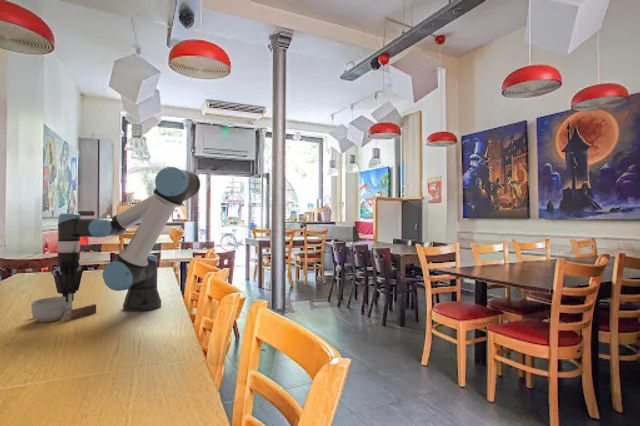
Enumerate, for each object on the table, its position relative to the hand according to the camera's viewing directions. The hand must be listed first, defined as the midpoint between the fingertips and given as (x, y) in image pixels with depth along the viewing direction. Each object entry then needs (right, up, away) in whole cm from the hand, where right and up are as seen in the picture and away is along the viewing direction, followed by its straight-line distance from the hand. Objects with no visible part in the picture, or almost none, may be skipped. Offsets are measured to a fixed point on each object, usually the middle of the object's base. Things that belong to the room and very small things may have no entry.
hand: (67, 309), depth 151 cm
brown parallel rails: (0, -2, -1) cm, 2 cm away
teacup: (-2, -2, -7) cm, 8 cm away
